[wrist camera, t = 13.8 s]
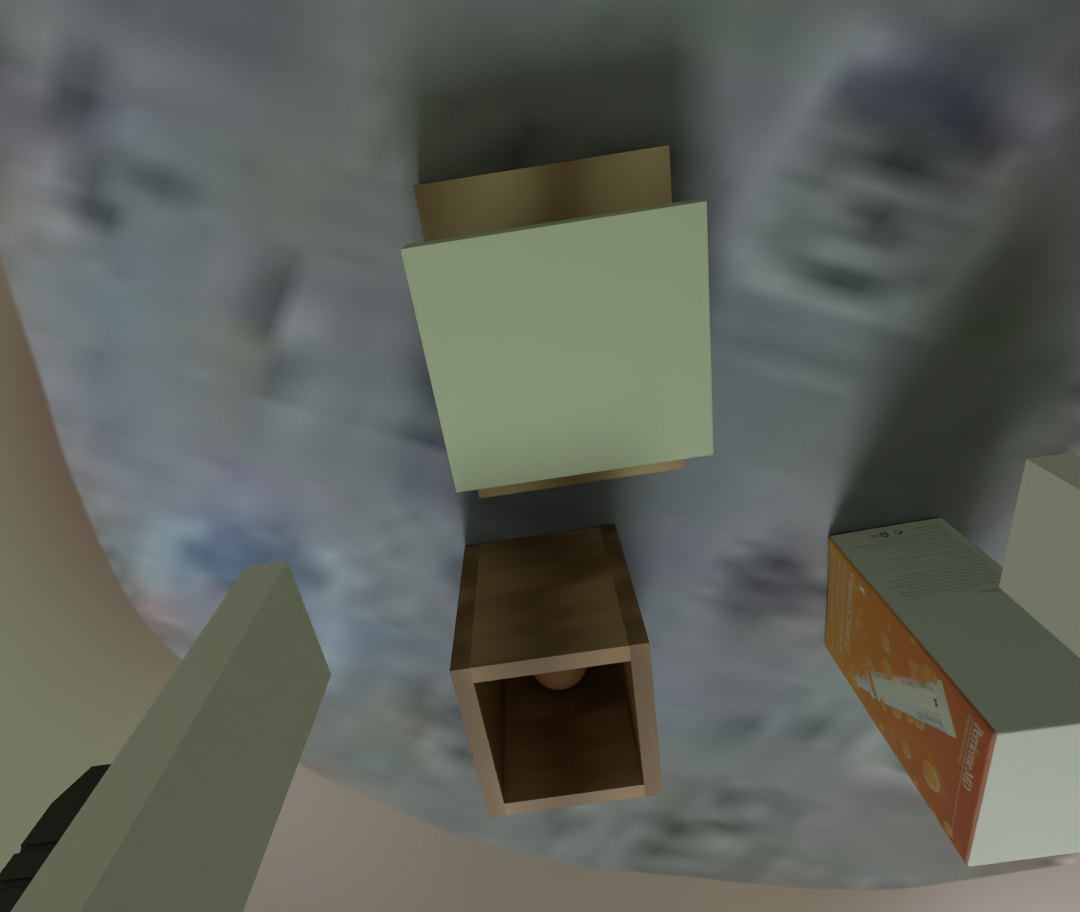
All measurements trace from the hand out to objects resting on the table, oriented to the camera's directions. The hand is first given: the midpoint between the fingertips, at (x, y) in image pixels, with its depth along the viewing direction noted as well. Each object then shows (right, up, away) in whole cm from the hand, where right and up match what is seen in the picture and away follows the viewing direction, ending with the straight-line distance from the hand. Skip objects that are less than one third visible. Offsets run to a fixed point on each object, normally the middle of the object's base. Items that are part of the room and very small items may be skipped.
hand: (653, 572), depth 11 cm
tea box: (-2, -6, +23) cm, 24 cm away
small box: (+17, -5, +24) cm, 30 cm away
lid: (-1, +6, +14) cm, 16 cm away
